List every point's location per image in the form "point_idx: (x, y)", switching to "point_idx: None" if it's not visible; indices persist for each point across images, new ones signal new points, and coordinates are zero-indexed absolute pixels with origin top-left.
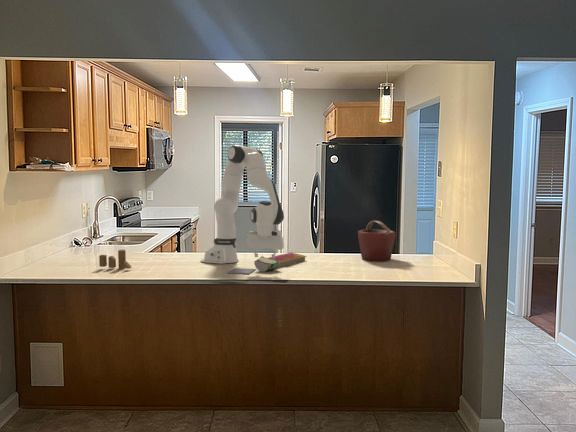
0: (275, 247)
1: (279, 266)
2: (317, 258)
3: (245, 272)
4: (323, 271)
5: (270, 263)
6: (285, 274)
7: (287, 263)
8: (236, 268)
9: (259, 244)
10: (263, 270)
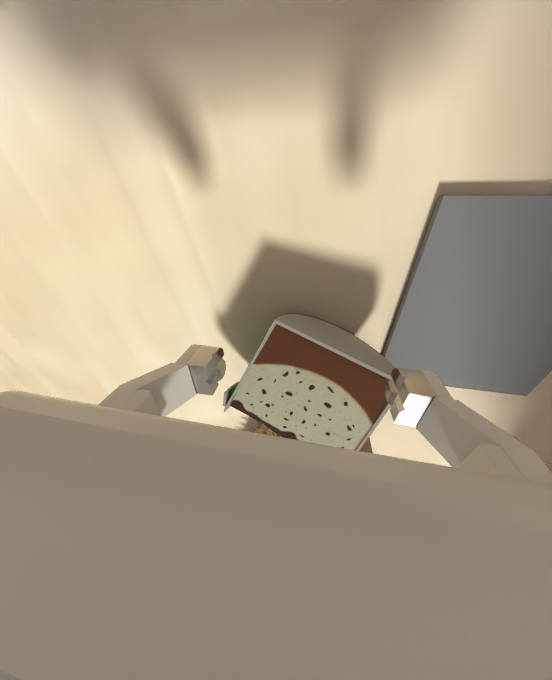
0: (43, 430)
1: (262, 425)
2: None
3: (473, 239)
4: (77, 367)
5: (269, 360)
6: (172, 269)
7: None
8: (517, 384)
9: (450, 616)
10: (320, 322)
